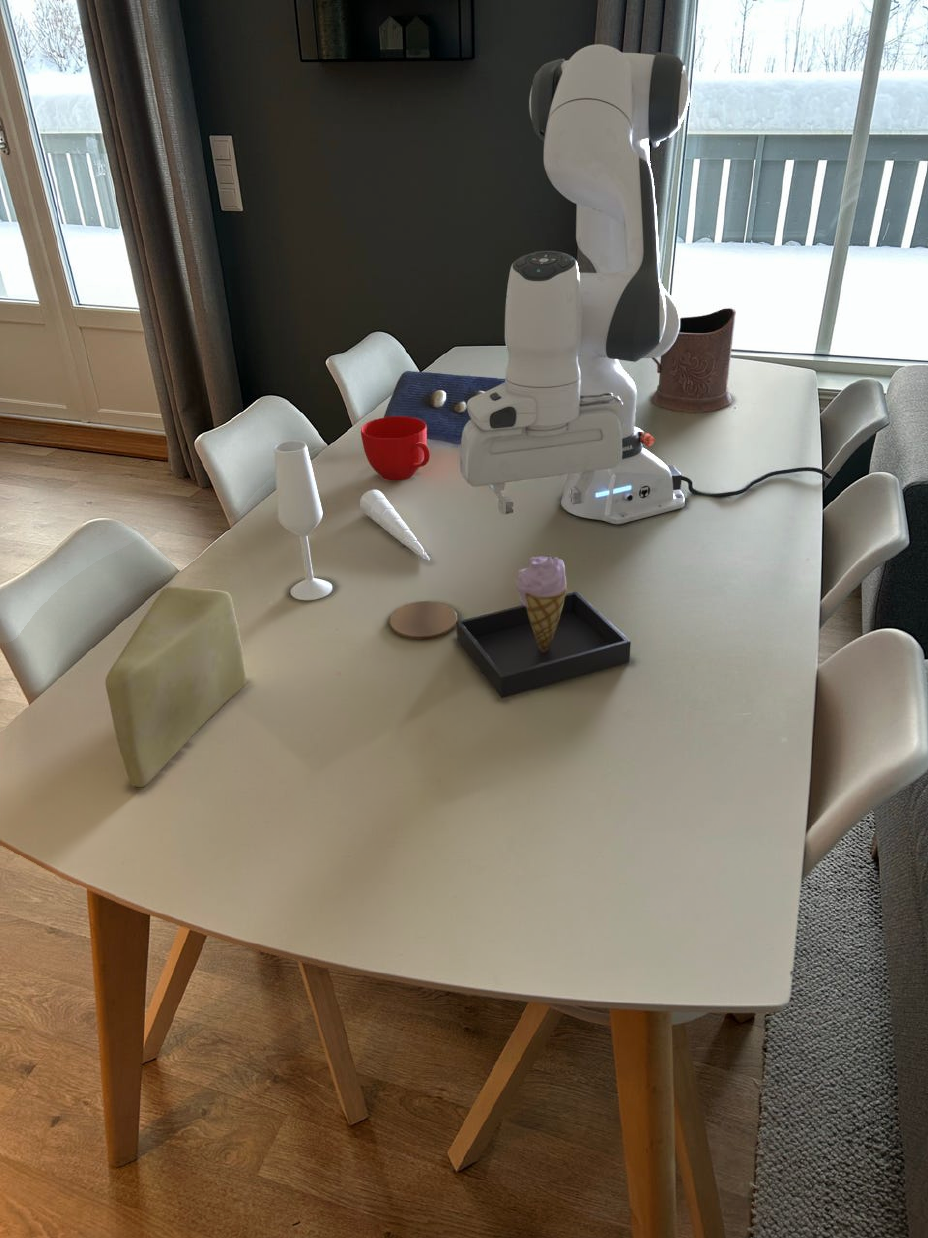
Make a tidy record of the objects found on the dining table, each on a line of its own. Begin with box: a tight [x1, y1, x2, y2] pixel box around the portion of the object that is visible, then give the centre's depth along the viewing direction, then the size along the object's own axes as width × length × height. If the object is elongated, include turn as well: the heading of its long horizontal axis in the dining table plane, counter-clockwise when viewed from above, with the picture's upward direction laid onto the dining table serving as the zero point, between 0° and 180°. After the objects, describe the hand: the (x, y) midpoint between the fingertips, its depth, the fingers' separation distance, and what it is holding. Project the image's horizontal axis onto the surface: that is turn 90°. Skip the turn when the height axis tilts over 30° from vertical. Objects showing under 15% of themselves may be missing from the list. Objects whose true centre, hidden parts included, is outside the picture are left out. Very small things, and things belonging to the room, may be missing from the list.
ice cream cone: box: [515, 556, 568, 652], centre depth 122 cm, size 7×6×15 cm
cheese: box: [104, 586, 247, 788], centre depth 111 cm, size 22×10×15 cm, turn 168°
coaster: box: [389, 600, 458, 640], centre depth 134 cm, size 10×10×1 cm
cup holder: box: [651, 307, 737, 413], centre depth 209 cm, size 18×24×25 cm
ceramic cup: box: [360, 416, 431, 482], centre depth 179 cm, size 13×17×10 cm
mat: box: [383, 370, 505, 445], centre depth 205 cm, size 45×27×12 cm, turn 82°
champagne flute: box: [273, 440, 333, 601], centre depth 138 cm, size 7×7×24 cm
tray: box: [456, 590, 632, 699], centre depth 126 cm, size 19×15×3 cm
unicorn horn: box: [359, 489, 430, 561], centre depth 158 cm, size 5×24×5 cm, turn 25°
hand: (541, 507), depth 115 cm, fingers open, 8 cm apart
